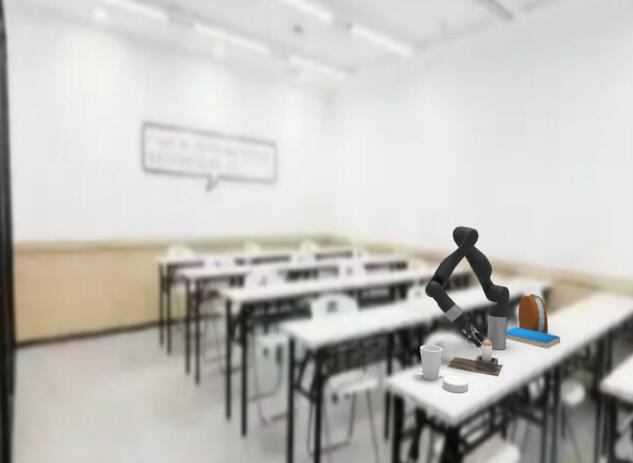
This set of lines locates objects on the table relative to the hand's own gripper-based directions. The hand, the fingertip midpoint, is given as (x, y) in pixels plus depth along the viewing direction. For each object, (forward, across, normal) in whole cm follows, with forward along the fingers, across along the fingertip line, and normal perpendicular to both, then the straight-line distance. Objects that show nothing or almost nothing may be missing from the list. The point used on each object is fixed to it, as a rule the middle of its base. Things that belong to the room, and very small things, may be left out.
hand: (481, 344), depth 206 cm
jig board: (+7, 0, +10) cm, 12 cm away
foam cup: (-4, -21, +21) cm, 30 cm away
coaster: (+5, -27, +13) cm, 30 cm away
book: (+21, +62, -2) cm, 66 cm away
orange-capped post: (+9, 0, +6) cm, 11 cm away
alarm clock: (+21, +83, -3) cm, 85 cm away
